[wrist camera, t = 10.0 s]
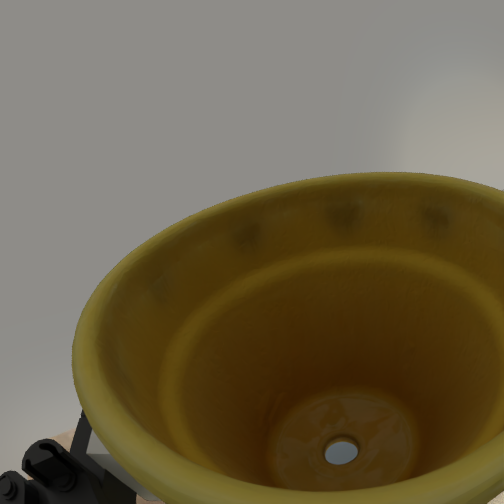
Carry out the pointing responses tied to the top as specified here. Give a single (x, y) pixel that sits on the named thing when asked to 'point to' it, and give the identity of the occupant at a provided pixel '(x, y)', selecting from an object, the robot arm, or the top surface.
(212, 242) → the plant pot
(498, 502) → the top surface
